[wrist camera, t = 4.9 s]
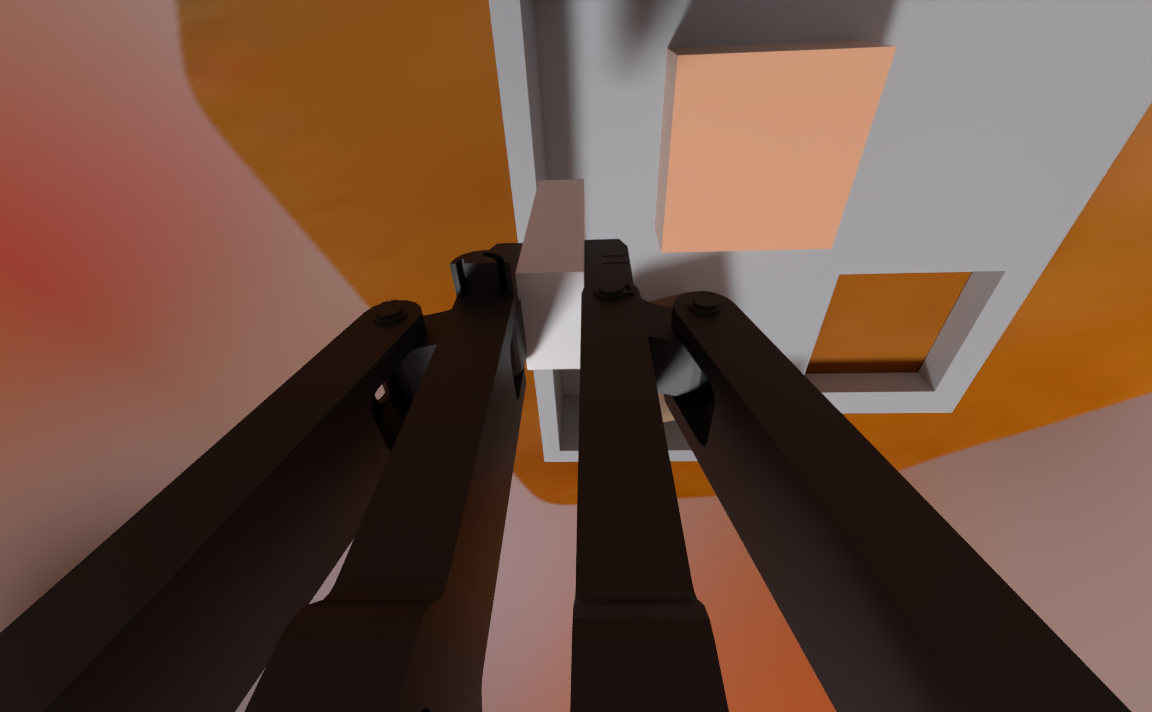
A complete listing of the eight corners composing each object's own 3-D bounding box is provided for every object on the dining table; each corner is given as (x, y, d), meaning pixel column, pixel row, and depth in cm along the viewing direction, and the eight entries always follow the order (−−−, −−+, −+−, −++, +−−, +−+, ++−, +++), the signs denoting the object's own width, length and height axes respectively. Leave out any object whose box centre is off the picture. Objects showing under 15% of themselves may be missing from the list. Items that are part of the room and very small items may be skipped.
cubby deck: (510, -66, 19) (477, -90, 14) (1228, -104, 18) (1511, -147, 12) (553, 396, 35) (545, 471, 30) (935, 393, 34) (1001, 470, 28)
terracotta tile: (667, 47, 20) (677, 55, 17) (859, 39, 19) (896, 46, 17) (654, 227, 25) (661, 252, 22) (808, 224, 24) (831, 248, 22)
